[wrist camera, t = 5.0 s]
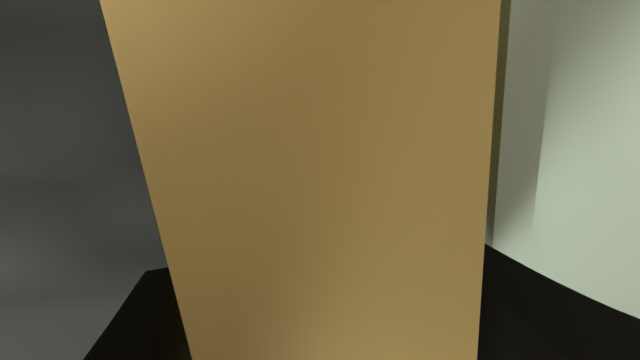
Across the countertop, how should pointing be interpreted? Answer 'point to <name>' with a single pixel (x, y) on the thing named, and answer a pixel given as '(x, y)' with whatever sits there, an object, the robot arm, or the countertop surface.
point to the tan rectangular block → (316, 169)
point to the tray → (569, 145)
